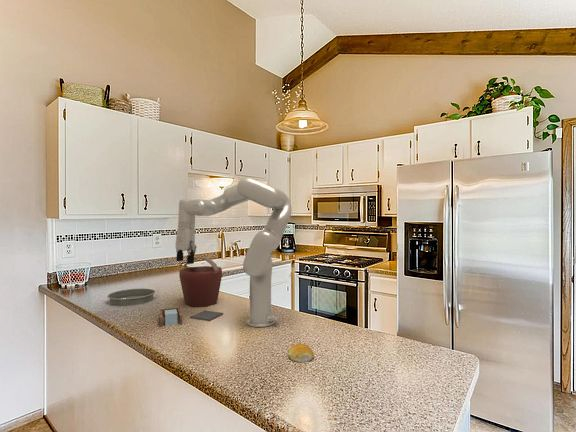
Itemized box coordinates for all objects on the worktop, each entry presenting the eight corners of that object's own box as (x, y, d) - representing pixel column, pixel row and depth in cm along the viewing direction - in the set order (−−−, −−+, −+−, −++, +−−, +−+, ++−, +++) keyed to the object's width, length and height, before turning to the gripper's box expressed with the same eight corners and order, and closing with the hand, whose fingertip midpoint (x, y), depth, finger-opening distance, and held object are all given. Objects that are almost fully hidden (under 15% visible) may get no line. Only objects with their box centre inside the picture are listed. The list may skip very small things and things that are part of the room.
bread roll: (308, 350, 116) (308, 339, 116) (316, 361, 107) (316, 349, 107) (285, 352, 114) (285, 341, 114) (291, 364, 105) (291, 351, 105)
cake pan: (108, 298, 191) (108, 290, 191) (154, 294, 201) (154, 286, 201) (105, 309, 169) (105, 300, 169) (156, 303, 179) (156, 295, 179)
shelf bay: (182, 324, 144) (182, 316, 144) (160, 327, 141) (160, 318, 141) (179, 314, 158) (179, 307, 158) (159, 317, 154) (159, 309, 154)
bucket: (173, 302, 182) (173, 257, 182) (209, 295, 196) (209, 253, 196) (193, 311, 163) (193, 261, 163) (231, 303, 178) (231, 257, 178)
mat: (223, 314, 159) (223, 312, 159) (209, 321, 148) (209, 319, 148) (204, 311, 163) (204, 310, 163) (189, 318, 153) (189, 316, 153)
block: (177, 324, 144) (177, 313, 144) (165, 326, 142) (165, 314, 142) (176, 320, 151) (176, 309, 151) (164, 321, 149) (164, 310, 149)
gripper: (170, 224, 157) (168, 260, 157) (188, 227, 145) (187, 265, 145) (184, 224, 162) (183, 259, 162) (203, 227, 150) (202, 264, 150)
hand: (184, 262), depth 154 cm, fingers open, 9 cm apart
